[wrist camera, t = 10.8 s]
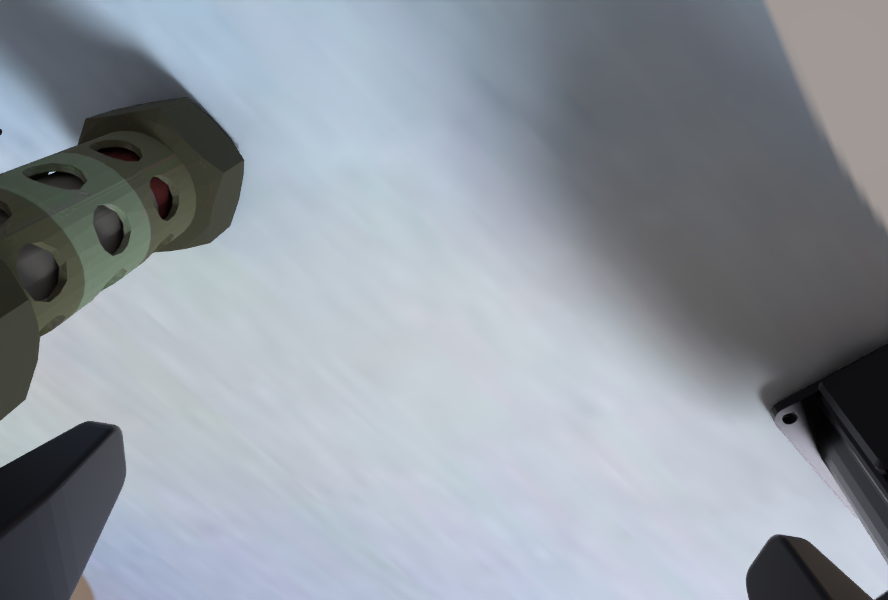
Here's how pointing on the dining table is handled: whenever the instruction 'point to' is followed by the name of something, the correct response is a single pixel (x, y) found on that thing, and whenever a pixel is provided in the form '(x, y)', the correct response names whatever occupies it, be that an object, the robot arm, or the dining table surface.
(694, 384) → the dining table surface
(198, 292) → the dining table surface
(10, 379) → the grenade
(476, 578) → the dining table surface
